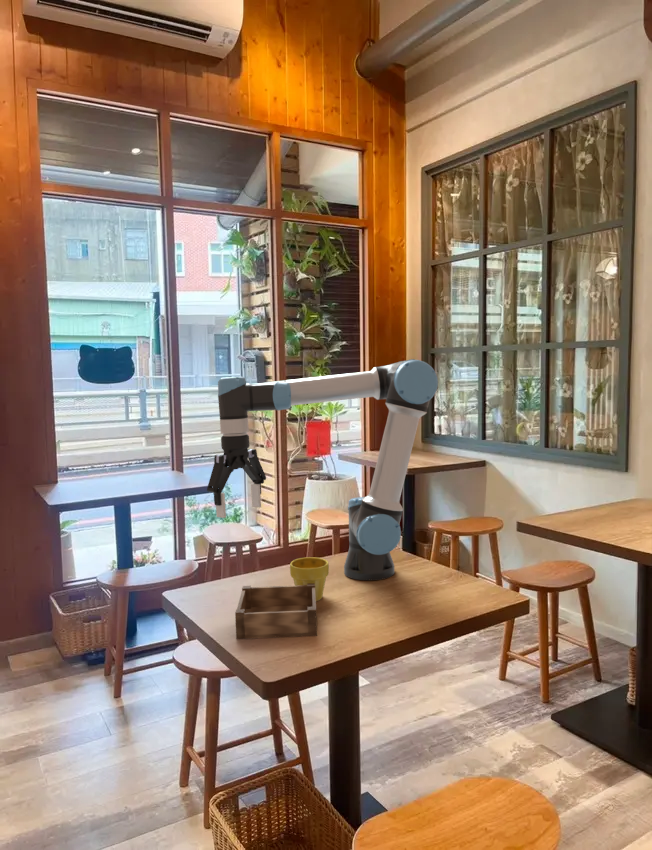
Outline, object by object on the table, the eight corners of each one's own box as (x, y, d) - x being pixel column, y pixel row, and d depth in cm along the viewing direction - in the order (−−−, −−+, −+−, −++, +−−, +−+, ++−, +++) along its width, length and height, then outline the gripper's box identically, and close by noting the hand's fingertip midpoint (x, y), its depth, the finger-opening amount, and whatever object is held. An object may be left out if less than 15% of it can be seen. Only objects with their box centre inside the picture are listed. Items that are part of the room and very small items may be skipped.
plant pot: (325, 605, 168) (324, 568, 167) (286, 603, 170) (285, 567, 169) (332, 592, 178) (331, 557, 177) (296, 590, 180) (295, 556, 179)
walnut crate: (315, 606, 168) (314, 583, 167) (317, 635, 149) (316, 609, 148) (243, 609, 167) (242, 586, 166) (236, 638, 148) (235, 612, 148)
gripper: (256, 429, 186) (260, 501, 188) (189, 439, 166) (195, 520, 168) (275, 429, 181) (280, 504, 183) (210, 440, 161) (215, 523, 163)
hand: (239, 512), depth 175 cm, fingers open, 13 cm apart
